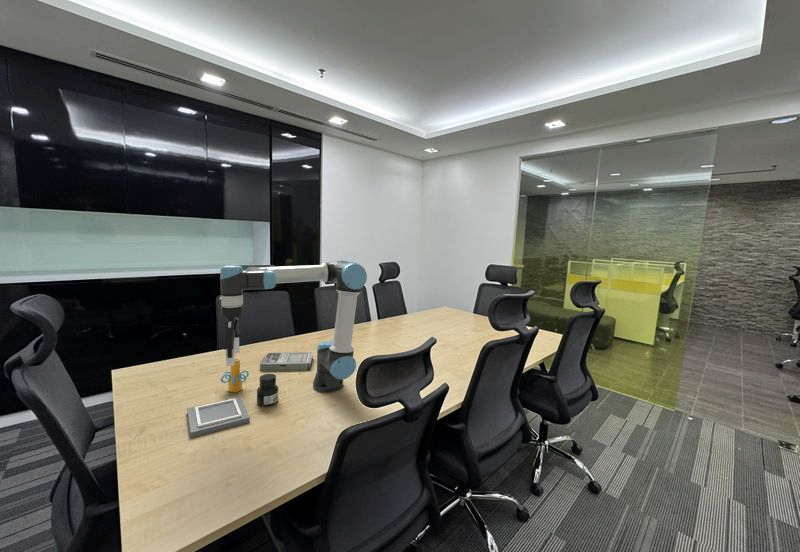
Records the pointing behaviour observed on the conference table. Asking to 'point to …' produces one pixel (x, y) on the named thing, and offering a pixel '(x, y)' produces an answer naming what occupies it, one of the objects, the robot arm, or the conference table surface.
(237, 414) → the base plate
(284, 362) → the hard drive
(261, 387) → the ink bottle
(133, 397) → the conference table surface
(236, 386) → the orange post with loops
